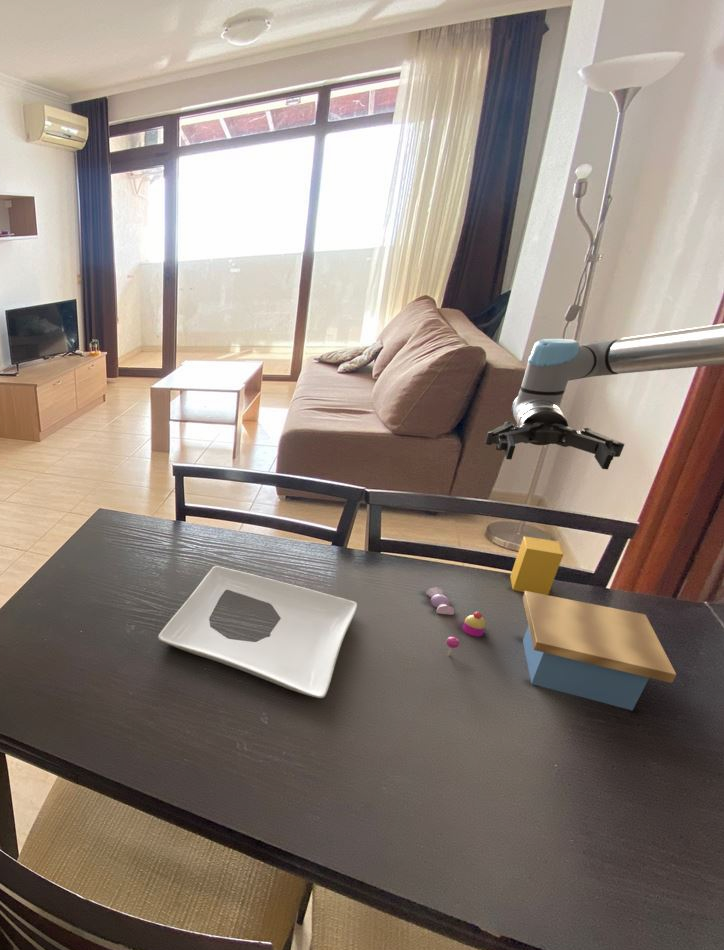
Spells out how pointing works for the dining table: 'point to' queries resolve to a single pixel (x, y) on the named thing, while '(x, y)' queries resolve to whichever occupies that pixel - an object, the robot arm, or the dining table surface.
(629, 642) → the birch board
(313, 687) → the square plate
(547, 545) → the yellow block
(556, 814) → the dining table surface
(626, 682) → the blue box
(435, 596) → the candy
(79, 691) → the dining table surface
